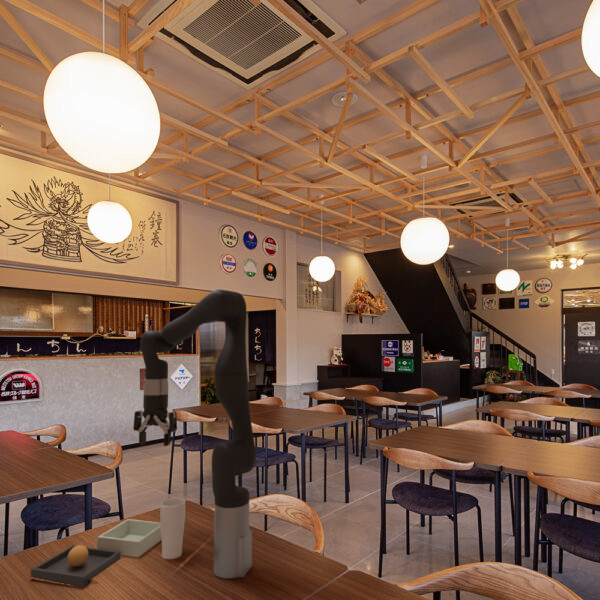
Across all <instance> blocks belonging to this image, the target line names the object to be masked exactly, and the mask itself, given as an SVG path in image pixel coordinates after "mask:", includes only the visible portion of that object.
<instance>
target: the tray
mask: <svg viewBox="0 0 600 600" xmlns="http://www.w3.org/2000/svg"><path fill="white" fill-rule="evenodd" d="M76 546H77V545H71V546H69V547H67V548H65V549H64V550H62V551H60V552H58V553H56V554H55V555H54V556H51V557H50V558H48V559H47V560H45V561H43V562H40V564H38V565H36V566H35V567H32V568H31V569H30V578H31V577H34V578H39V579H44V580H49V581H53V582H59V583H64V584H70V585H74V586H78V587H77V588H80V587H82V588H81V589H84V588H85V587H87V586H88V585H89V584H91V583H92V582H94V580H93V579H92V578H93V577H95V576H97V575H98V574H99V573H100V572H102V571H104V570H106V569H107V568H108V567H109V566H110V565H113V563H115V562H117V561H118V560H119V559H121V557H122V555H121V552H120V551H112V550H105V549H97V547H96V548H95V547H89V546H88V547H87V546H85V547H86V548H87V550H88V558H87V560H86V562H85V563H84V564H83V565H81V566H79V567H72V566H71V565H70V564H69V563H68V560H67V558H68V554H69V552H70V551H71V549H72V548H74V547H76ZM91 581H92V582H91ZM90 582H91V583H90ZM74 586H73V587H74ZM83 587H84V588H83Z"/></svg>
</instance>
